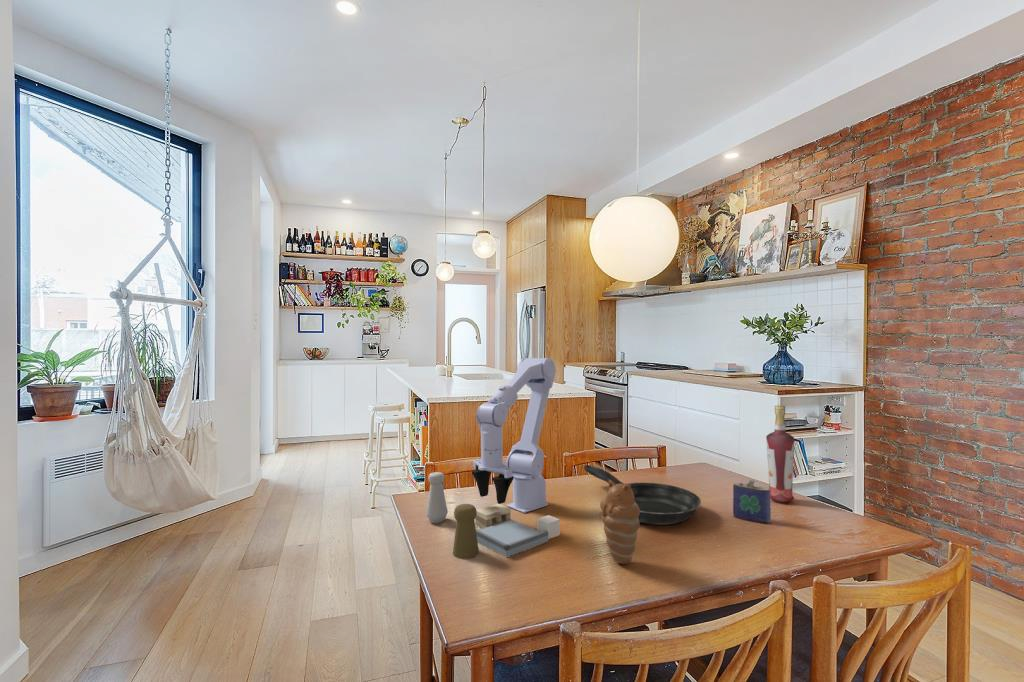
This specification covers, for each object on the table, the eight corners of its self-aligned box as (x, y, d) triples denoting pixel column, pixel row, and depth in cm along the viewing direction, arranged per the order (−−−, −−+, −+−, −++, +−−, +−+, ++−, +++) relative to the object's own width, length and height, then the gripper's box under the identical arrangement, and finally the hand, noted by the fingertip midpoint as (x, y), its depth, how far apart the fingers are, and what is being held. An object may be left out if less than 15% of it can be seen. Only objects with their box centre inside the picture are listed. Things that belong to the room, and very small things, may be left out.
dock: (511, 525, 131) (511, 515, 131) (548, 541, 121) (548, 531, 121) (471, 538, 123) (470, 528, 123) (506, 557, 112) (506, 546, 112)
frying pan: (721, 520, 133) (721, 495, 133) (648, 538, 122) (648, 511, 122) (618, 478, 172) (617, 459, 172) (555, 490, 161) (555, 469, 161)
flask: (771, 522, 131) (771, 481, 131) (769, 525, 128) (768, 484, 128) (734, 514, 137) (734, 475, 136) (731, 517, 134) (730, 478, 134)
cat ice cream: (594, 563, 109) (593, 481, 108) (613, 551, 114) (612, 473, 114) (631, 576, 103) (630, 489, 102) (649, 563, 109) (648, 481, 108)
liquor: (794, 506, 142) (794, 408, 141) (766, 502, 145) (765, 407, 145) (795, 499, 148) (794, 405, 148) (767, 495, 152) (766, 403, 151)
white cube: (548, 530, 128) (548, 515, 128) (559, 535, 125) (559, 519, 125) (537, 534, 125) (537, 519, 125) (548, 539, 122) (548, 523, 122)
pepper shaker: (468, 560, 111) (467, 511, 111) (447, 554, 114) (446, 507, 114) (484, 550, 116) (483, 503, 116) (463, 545, 119) (462, 499, 119)
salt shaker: (443, 525, 132) (442, 476, 132) (423, 524, 133) (422, 475, 133) (450, 517, 138) (449, 470, 137) (431, 516, 139) (430, 469, 139)
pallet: (499, 517, 137) (498, 503, 137) (510, 522, 133) (510, 507, 133) (475, 525, 132) (475, 510, 132) (486, 530, 128) (486, 515, 128)
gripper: (463, 446, 135) (464, 496, 135) (496, 455, 124) (497, 509, 124) (484, 442, 140) (485, 490, 140) (518, 451, 129) (518, 503, 129)
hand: (492, 499), depth 132 cm, fingers open, 7 cm apart
